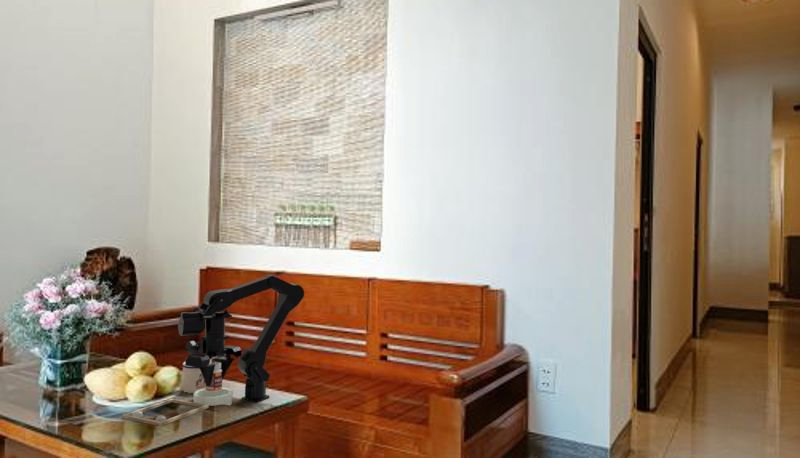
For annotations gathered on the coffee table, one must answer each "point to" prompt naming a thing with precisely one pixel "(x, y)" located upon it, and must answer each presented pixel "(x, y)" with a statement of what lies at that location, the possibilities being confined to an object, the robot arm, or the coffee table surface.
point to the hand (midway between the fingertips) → (213, 384)
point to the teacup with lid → (192, 379)
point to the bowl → (213, 397)
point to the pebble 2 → (160, 418)
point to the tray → (201, 407)
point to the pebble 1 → (137, 414)
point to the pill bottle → (215, 379)
